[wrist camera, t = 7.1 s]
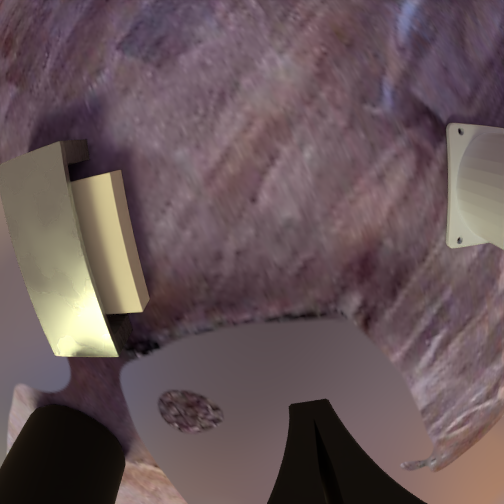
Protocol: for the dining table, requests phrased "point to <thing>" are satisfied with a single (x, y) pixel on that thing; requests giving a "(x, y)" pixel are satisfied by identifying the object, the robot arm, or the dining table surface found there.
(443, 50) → the dining table surface
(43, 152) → the overhang
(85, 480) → the coffee jar
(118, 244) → the cream sticky note pad
